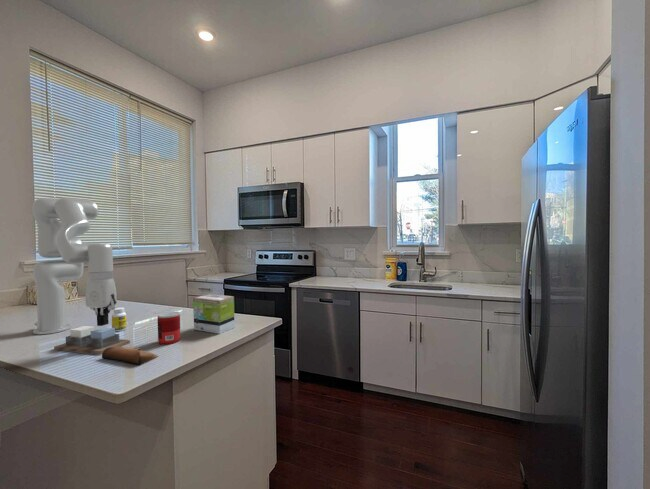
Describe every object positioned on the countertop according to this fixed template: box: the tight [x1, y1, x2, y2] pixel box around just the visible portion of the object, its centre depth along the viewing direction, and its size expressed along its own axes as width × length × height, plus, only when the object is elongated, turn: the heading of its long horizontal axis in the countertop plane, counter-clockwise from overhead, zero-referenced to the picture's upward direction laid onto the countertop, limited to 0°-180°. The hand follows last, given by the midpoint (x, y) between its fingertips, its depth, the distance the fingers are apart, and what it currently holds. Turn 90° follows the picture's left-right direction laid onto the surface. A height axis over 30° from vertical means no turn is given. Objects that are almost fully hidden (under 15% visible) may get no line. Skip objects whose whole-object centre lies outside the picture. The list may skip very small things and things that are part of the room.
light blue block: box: [91, 326, 116, 340], centre depth 114 cm, size 5×5×4 cm
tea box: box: [192, 293, 235, 335], centre depth 135 cm, size 15×10×15 cm
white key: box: [69, 325, 96, 338], centre depth 116 cm, size 5×5×4 cm
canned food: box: [157, 311, 181, 346], centre depth 120 cm, size 8×8×11 cm
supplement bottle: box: [111, 307, 127, 333], centre depth 136 cm, size 5×5×10 cm
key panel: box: [53, 333, 131, 356], centre depth 115 cm, size 22×12×4 cm, turn 76°
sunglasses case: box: [101, 346, 160, 366], centre depth 103 cm, size 18×7×7 cm
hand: (102, 324), depth 114 cm, fingers closed
